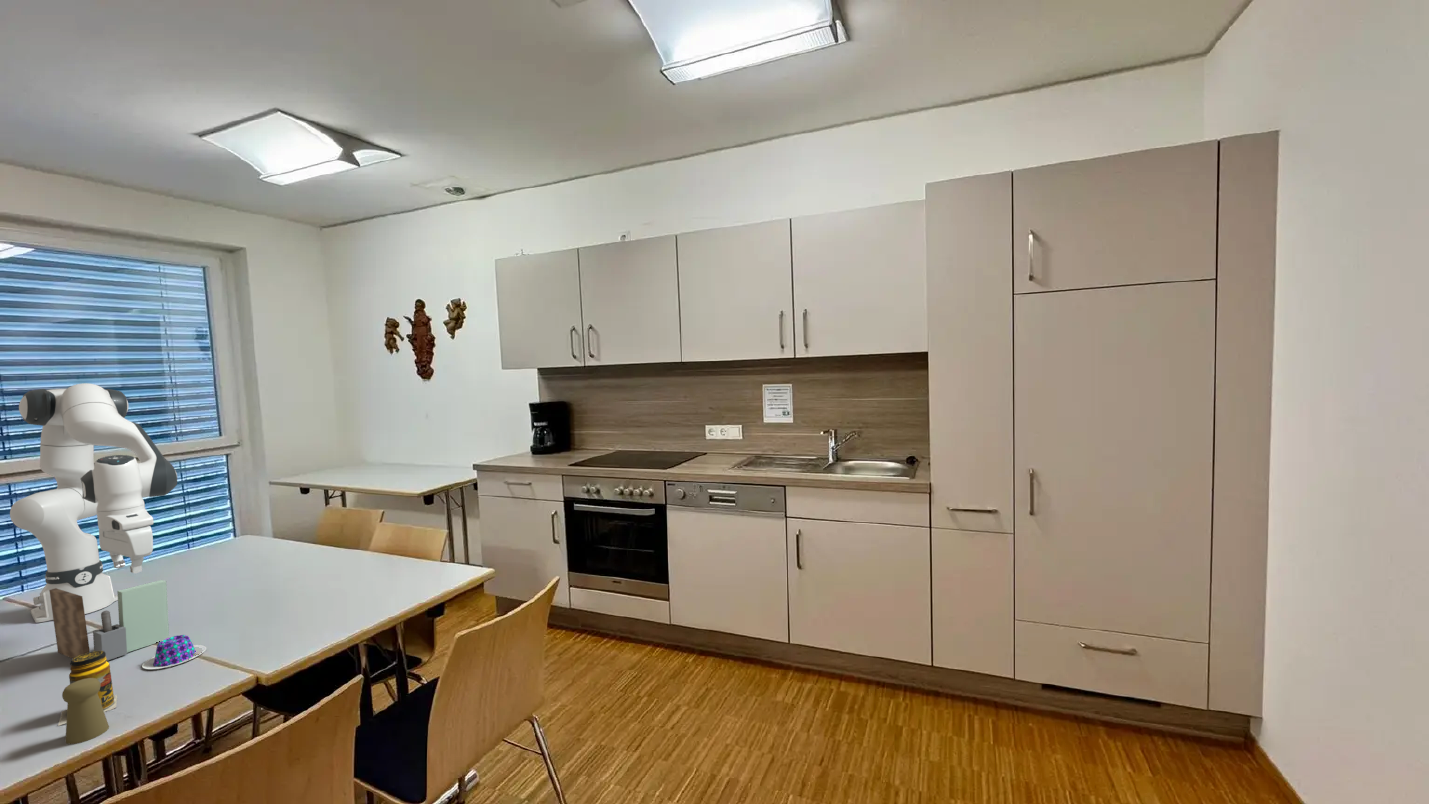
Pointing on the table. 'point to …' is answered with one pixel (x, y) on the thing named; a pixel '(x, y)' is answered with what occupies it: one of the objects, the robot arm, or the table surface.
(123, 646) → the door
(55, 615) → the cabinet side
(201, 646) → the purple domed brimmed piece
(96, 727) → the cork
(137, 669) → the table surface
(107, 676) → the condiment
